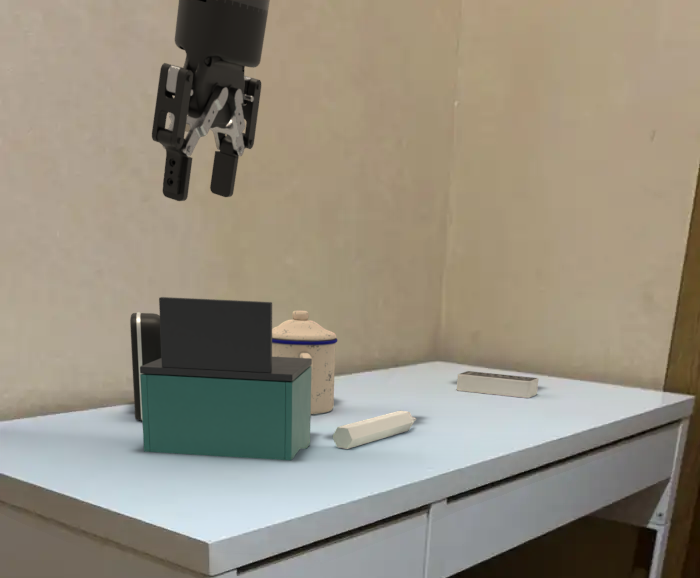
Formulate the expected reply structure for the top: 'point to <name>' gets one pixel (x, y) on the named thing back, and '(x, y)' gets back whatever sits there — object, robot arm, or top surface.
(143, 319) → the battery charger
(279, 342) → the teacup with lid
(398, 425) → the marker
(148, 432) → the storage box
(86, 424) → the top surface
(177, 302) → the box lid
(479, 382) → the multiport hub
